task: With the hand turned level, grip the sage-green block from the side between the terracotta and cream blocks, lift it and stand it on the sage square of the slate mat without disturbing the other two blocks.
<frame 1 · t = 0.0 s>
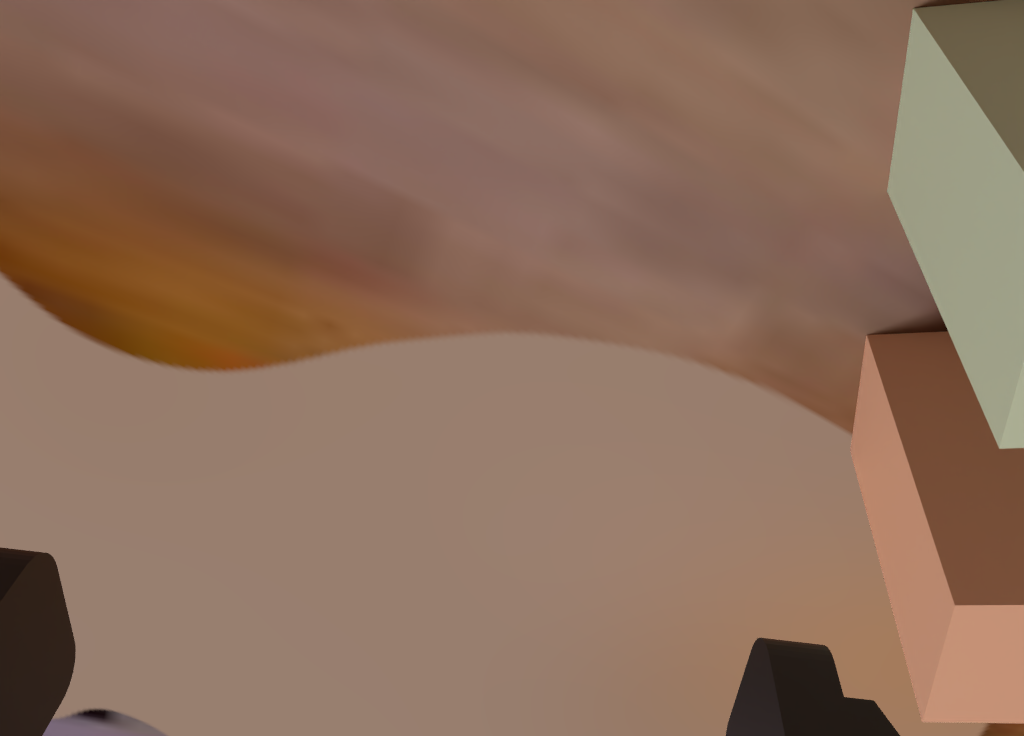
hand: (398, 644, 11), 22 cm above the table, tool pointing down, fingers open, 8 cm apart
sage block: (1002, 97, 29), on the table
terracotta block: (939, 392, 36), on the table
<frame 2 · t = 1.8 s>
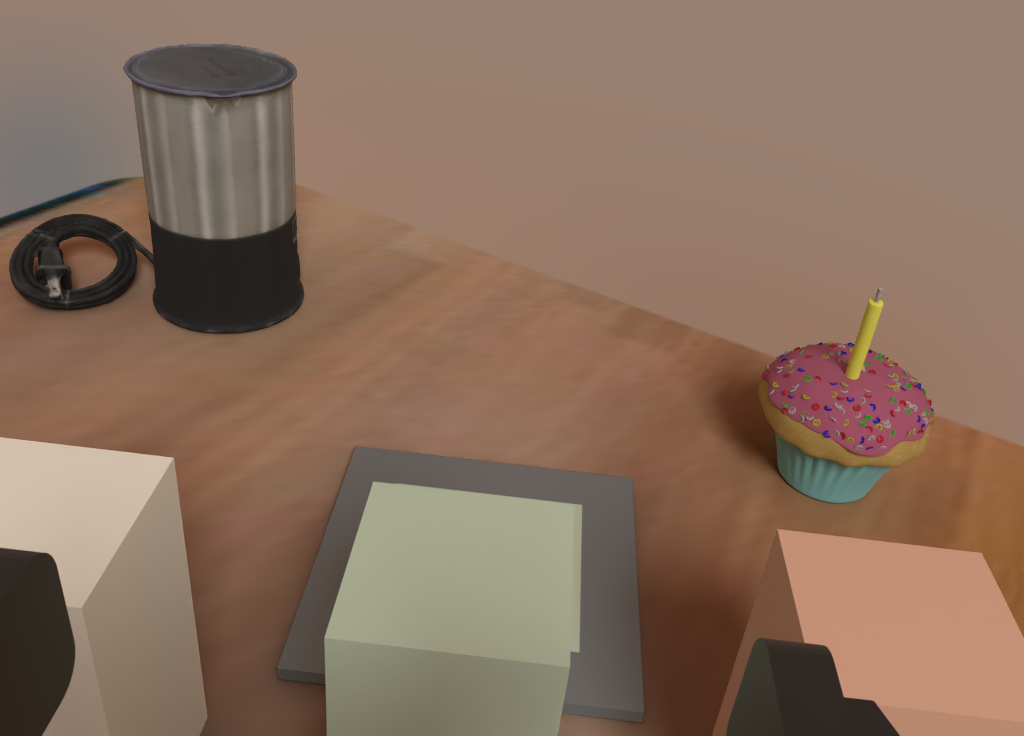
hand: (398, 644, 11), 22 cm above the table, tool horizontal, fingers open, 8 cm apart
milk frother: (165, 298, 60), on the table
slate mat: (478, 570, 42), on the table
cupcake: (819, 476, 50), on the table
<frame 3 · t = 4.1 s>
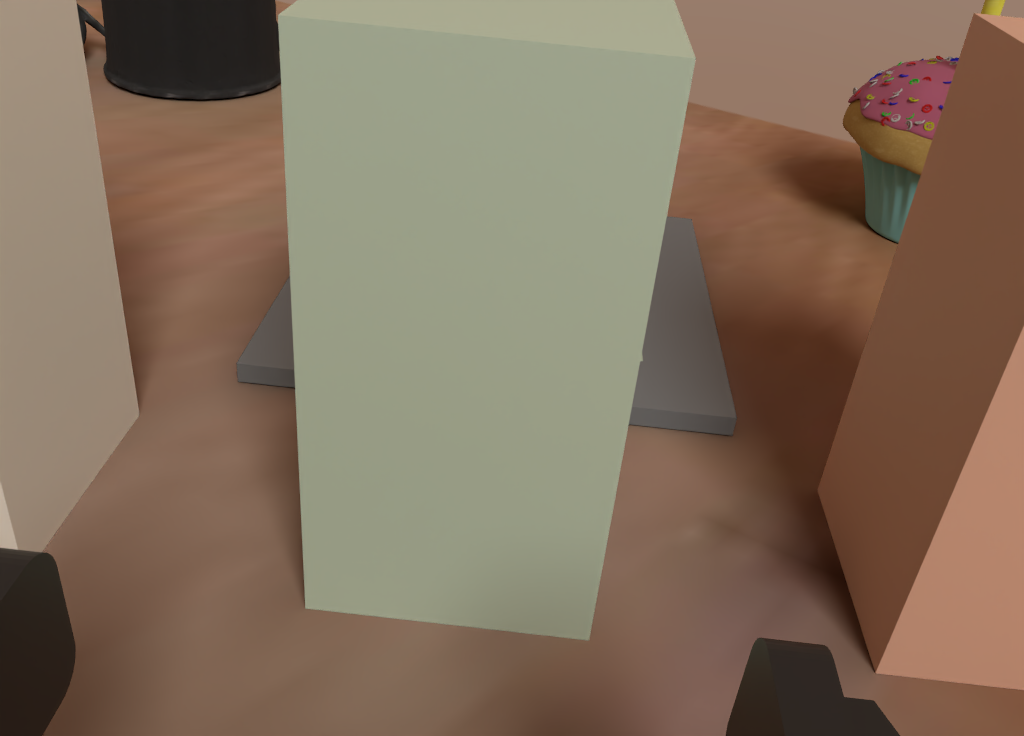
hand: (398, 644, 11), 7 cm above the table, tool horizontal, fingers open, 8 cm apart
milk frother: (120, 75, 51), on the table
sage block: (463, 528, 22), on the table
slate mat: (503, 293, 33), on the table
cupcake: (917, 233, 41), on the table
terracotta block: (970, 585, 22), on the table
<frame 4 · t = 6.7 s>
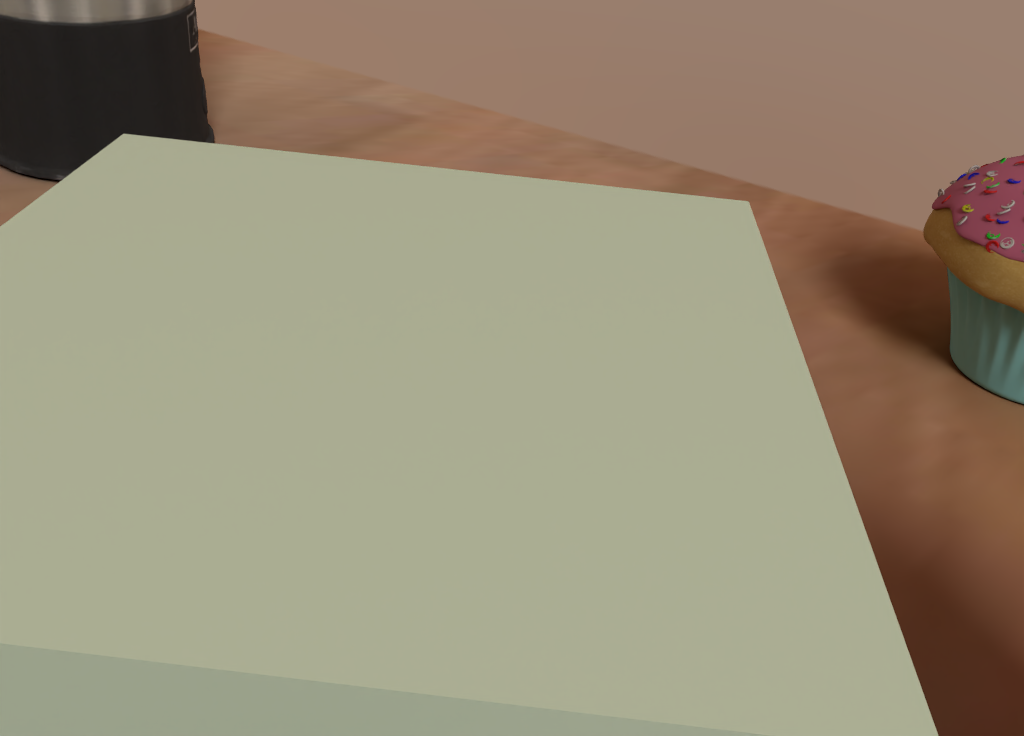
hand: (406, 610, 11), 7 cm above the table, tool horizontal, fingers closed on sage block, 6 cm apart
milk frother: (9, 145, 41), on the table
cupcake: (1018, 374, 31), on the table
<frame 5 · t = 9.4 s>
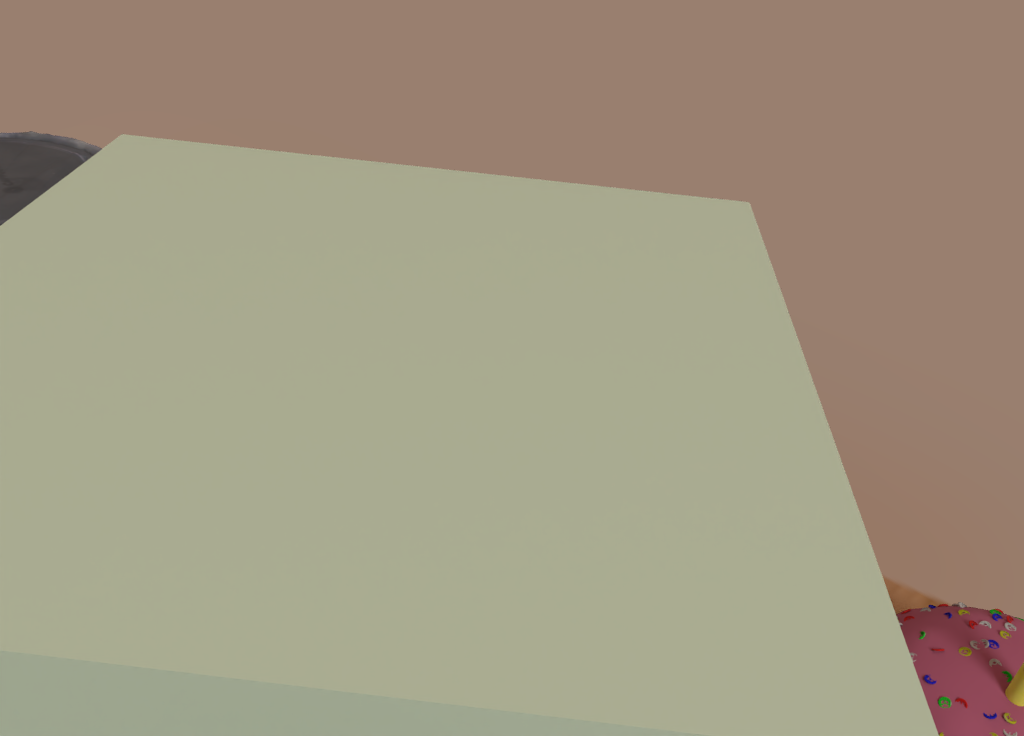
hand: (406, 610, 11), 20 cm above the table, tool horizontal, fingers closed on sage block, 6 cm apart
when the fingers open (9 cm above the table, at t = 12.5 s): sage block drops 1 cm, resting on slate mat.
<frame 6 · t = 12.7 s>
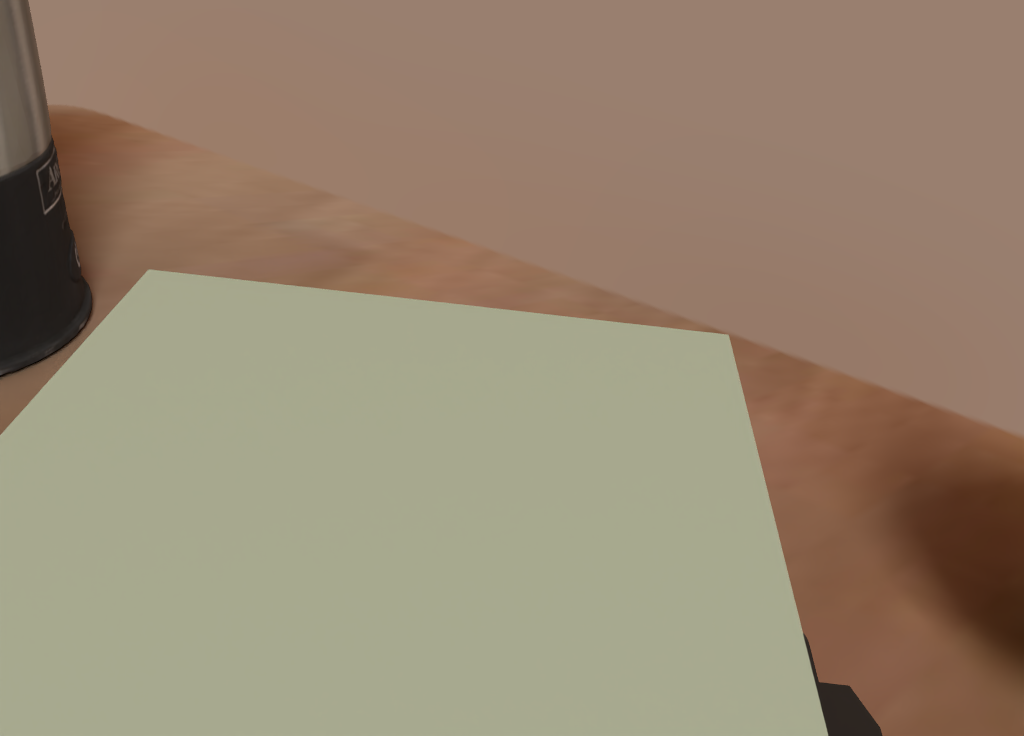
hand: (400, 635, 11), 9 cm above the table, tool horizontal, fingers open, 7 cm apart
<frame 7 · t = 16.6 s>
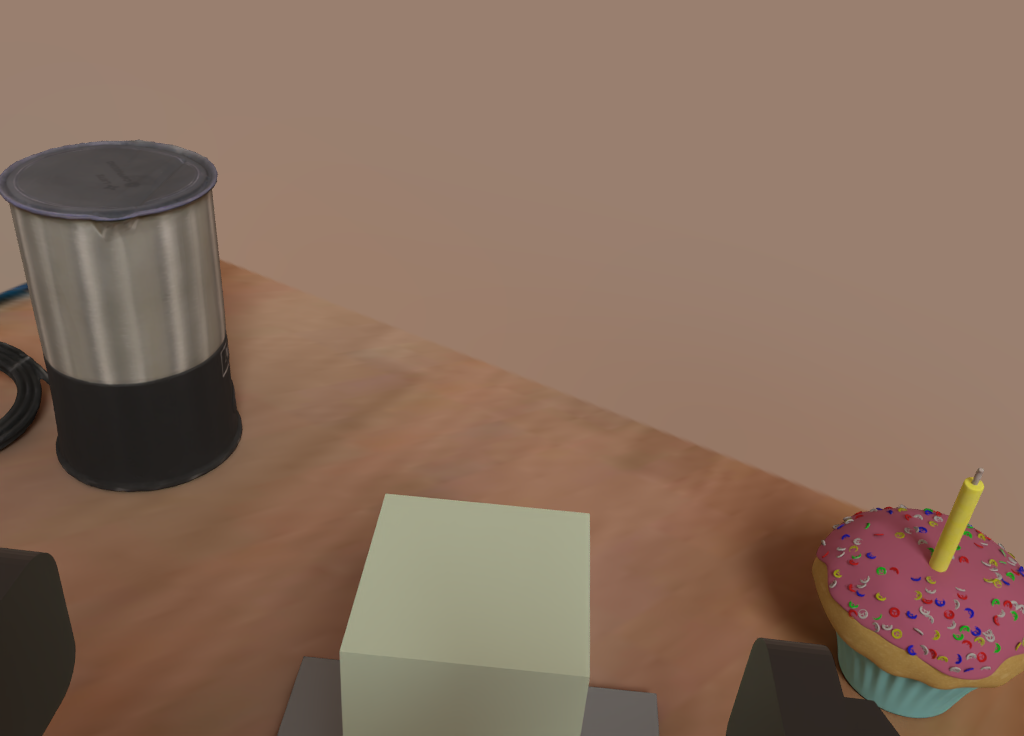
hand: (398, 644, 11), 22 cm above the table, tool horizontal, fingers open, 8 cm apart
milk frother: (74, 440, 50), on the table
cupcake: (891, 673, 40), on the table
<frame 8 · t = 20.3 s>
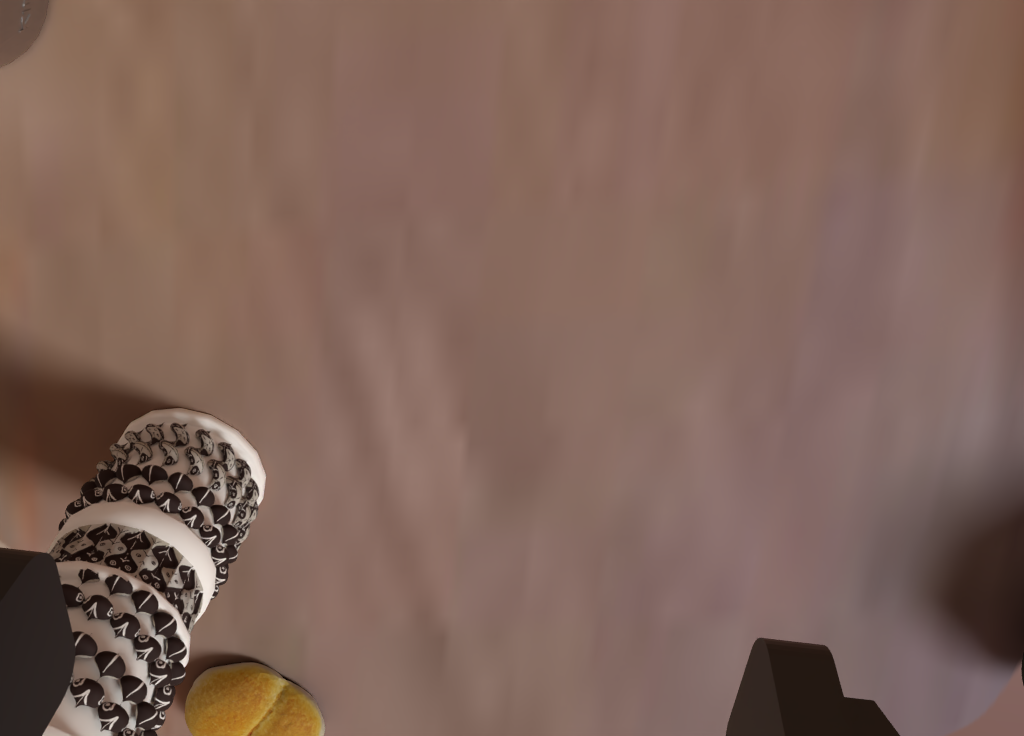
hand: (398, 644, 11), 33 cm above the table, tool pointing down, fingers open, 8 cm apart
bread roll: (262, 699, 64), on the table
decorative candle: (192, 467, 53), on the table
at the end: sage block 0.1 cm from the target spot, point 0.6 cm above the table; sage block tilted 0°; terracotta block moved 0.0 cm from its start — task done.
